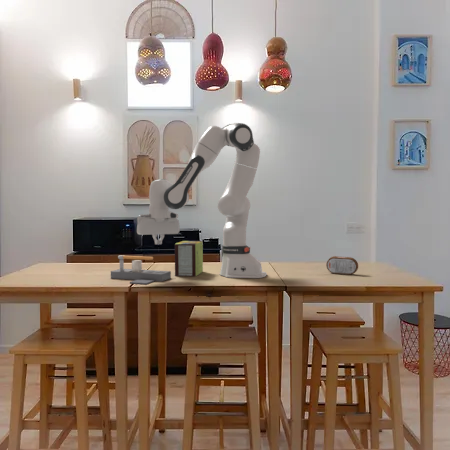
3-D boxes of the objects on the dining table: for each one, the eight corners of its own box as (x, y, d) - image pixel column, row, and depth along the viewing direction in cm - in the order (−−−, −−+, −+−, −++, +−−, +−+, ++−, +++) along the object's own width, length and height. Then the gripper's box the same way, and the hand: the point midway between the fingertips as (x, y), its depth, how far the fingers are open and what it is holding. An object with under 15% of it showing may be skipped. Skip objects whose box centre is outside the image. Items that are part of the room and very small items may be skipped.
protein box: (203, 271, 219) (202, 241, 218) (195, 276, 204) (195, 243, 203) (182, 271, 221) (182, 240, 220) (174, 276, 206) (174, 243, 205)
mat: (155, 281, 191) (155, 280, 191) (146, 284, 184) (146, 283, 184) (139, 280, 194) (139, 278, 194) (129, 283, 186) (129, 282, 186)
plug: (143, 277, 201) (143, 260, 201) (138, 279, 197) (138, 261, 197) (135, 277, 203) (134, 260, 202) (130, 278, 199) (130, 261, 198)
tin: (358, 274, 210) (358, 257, 210) (357, 275, 207) (357, 258, 207) (327, 272, 216) (327, 255, 216) (325, 273, 213) (325, 256, 213)
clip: (153, 259, 198) (153, 256, 198) (150, 260, 196) (150, 257, 196) (120, 257, 204) (120, 255, 204) (116, 258, 201) (116, 256, 201)
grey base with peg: (170, 278, 200) (170, 259, 199) (161, 281, 191) (161, 262, 191) (121, 275, 208) (121, 257, 207) (110, 278, 199) (110, 259, 199)
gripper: (140, 214, 192) (139, 245, 193) (181, 214, 203) (180, 243, 204) (134, 213, 197) (134, 244, 198) (175, 214, 208) (174, 242, 209)
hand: (158, 244), depth 201 cm, fingers closed
